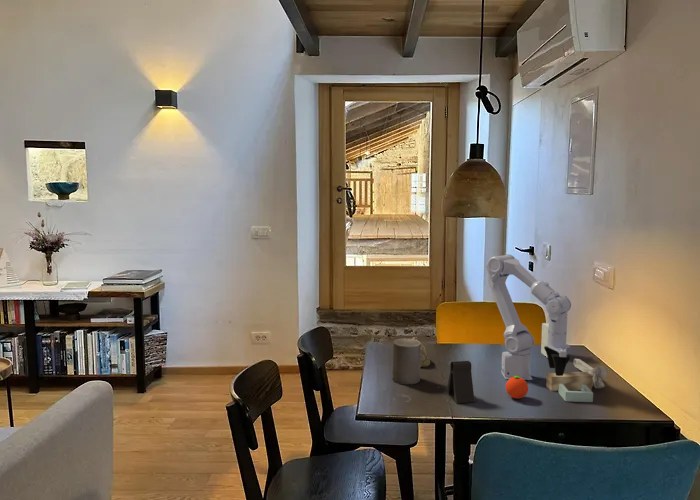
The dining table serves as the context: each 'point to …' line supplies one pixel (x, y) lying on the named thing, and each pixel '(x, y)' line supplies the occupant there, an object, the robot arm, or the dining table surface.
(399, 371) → the pillar candle
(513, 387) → the clementine
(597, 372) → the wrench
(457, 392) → the phone stand
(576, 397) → the bracket
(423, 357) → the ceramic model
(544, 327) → the supplement box
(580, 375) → the tan rectangular block
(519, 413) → the dining table surface
